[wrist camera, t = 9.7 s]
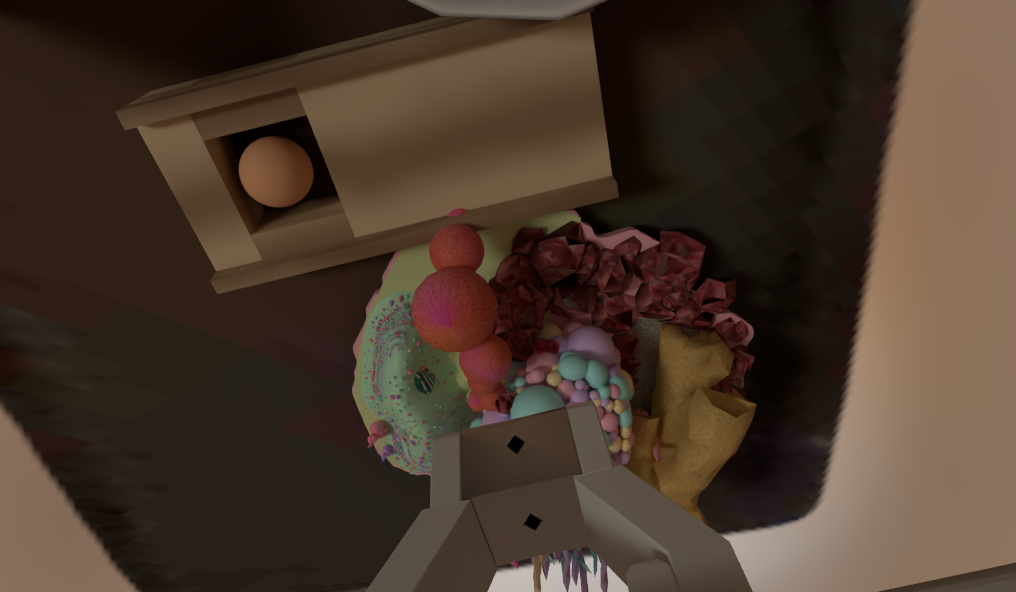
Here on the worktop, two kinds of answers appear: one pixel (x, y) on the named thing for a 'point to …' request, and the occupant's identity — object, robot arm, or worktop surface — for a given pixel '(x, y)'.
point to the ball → (276, 171)
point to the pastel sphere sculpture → (559, 350)
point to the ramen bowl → (508, 8)
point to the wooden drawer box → (389, 140)
